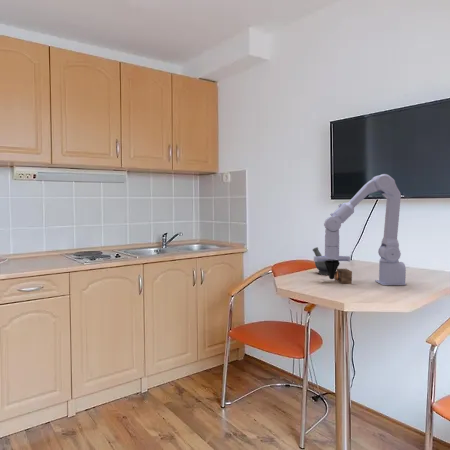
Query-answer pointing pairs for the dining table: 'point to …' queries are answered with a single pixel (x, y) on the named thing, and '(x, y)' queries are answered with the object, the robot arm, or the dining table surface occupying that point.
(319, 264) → the mortar and pestle
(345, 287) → the dining table surface
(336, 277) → the pin
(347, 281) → the block
